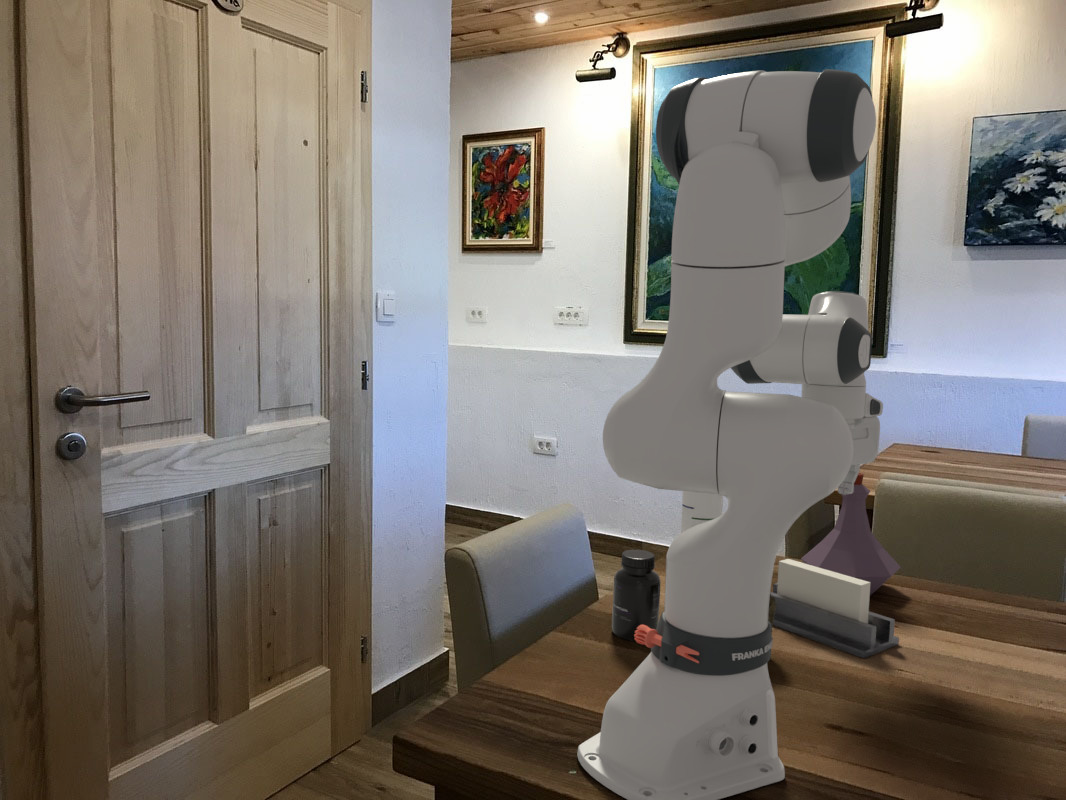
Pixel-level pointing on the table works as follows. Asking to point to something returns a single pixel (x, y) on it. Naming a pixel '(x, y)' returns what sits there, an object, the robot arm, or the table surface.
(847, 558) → the flask
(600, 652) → the table surface
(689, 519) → the cylindrical container
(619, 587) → the supplement bottle
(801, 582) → the door panel
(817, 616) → the floor track
